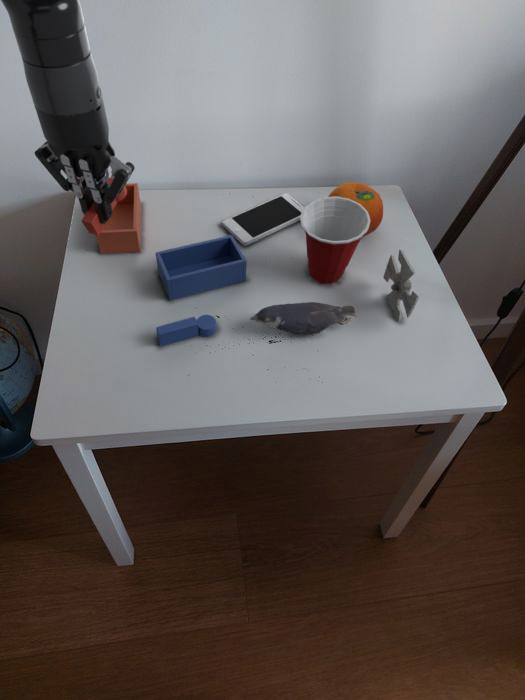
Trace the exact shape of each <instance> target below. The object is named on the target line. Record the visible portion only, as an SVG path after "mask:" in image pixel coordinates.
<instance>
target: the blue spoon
mask: <svg viewBox="0 0 525 700" xmlns="http://www.w3.org/2000/svg"><path fill="white" fill-rule="evenodd" d="M155 329H156V337H157V341H158V343H159V346H160V347H164V346H167V345H171V344H174V343H178V342H182V341H185V340H189V339H192V338H196V337H199V336H201V337H203V338H204V337H205V338H208V337H212V336H213V335H214V334H216V332H217V320H216V318H215V317H214V316H212V315H210V314H203V315H200V316H198V318H197V319H196V317H195V316H192V317H187V318H184V319H180V320H177V321H174V322H170V323H167V324H162V325H159V326H156V327H155Z"/></svg>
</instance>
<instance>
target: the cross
mask: <svg viewBox="0 0 525 700" xmlns="http://www.w3.org/2000/svg"><path fill="white" fill-rule="evenodd" d="M397 256H398V257H397V260H398V262H399V264H400V269H399V268H398V264H397V262H396V258H395V256H394V255H393V254H390V256H389V258H388V261H387V263H386V268H385V270H384V274H383V279H384V281H386V283H389V282H390V280H391V281H392V282H393V284H391V286H390V290H391V291H390V292H389V293H388V294H387V295H386V299H387V302H388V304H389V306H390V308H391V310H392V312H393V314H394V316H395V318H396V320H397V321H398V322H401V319H402V313H403V312H402V310H401V308H400V305H401V301H402V304H403V308H404V311H405V316H406V318H407V319H408V318H410V317H411V316H412V314H413V312H414V309H415V307H416V305H417V303H418V300H419V299H420V295H419V294H418V293H417V292H415V291H414V290H412V291H411V289H412V286H413V283H412V281H411V278H412V277H413V276H414V275H415V274H416V271H415V270H414V268H413V266H412V265H411V263H410V260H409V259H408V256H407V255H406V254H405V251H404V250H402V249H401V248H400V249H398V255H397ZM410 291H411V293H410Z"/></svg>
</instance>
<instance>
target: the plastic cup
mask: <svg viewBox="0 0 525 700" xmlns="http://www.w3.org/2000/svg"><path fill="white" fill-rule="evenodd" d="M300 219H301V220H300V224H301V228H302V230H304V234H305V244H306V257H307V268H308V273H309V277H311V278H312V280H313V281H315V282H317V283H319V284H323V285H332V284H335V283H337V282H338V281H339V280H341V278H342V277H343V275H344V273H345V272H346V268H347V267H348V266H349V264H350V262H351V260H352V258H353V256H354V253H355V251H356V249H357V248H358V245H359V244H360V242H361V240H362V239H363V237H362V236H363V235H364V234H365V233H366V232H367V231H368V228H369V225H370V221H371V220H370V217H369V214H368V211H367V210H366V209H365V208H364V207H363V206H362V205H361V204H359V203H357V202H355V201H353V200H351V199H348V198H342V197H336V196H335V197H328V196H324V197H320V198H317V199H315V200H312V201H310V202H309V203H308V204H307V205H306V206H304V208H303V211H302V213H301V216H300Z"/></svg>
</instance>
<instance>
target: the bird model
mask: <svg viewBox="0 0 525 700" xmlns="http://www.w3.org/2000/svg"><path fill="white" fill-rule="evenodd" d="M357 316H358V313H357V312H356V308H355V307H354V305H343V306H340V305H339V306H338V305H332V304H330V303H329V304H328V303H322V302H315V301H309V302H307V301H306V302H296V303H294V302H293V303H284V304H283V303H282V304H281V303H280V304H273V305H268V306H266V307H263V308H261V309H260V310H259V311H258V312H257V313H255V314H254V315H253V316H251V317H250V318H249V320H250V321H254V322H256V323H259V324H262V325H264V326H267V327H270V328H273V329H274V328H275V329H276V330H279V331H283V332H286V333H291V334H292V335H297V336H307V335H318V334H320V333H321V332H323V331H325V330H326V329H327V328H328V327H330V326H332V325H334V324H338V325H341V326H343V325H346V326H347V325H348V324H349V323H350V322H351V321H352V317H357Z"/></svg>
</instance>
